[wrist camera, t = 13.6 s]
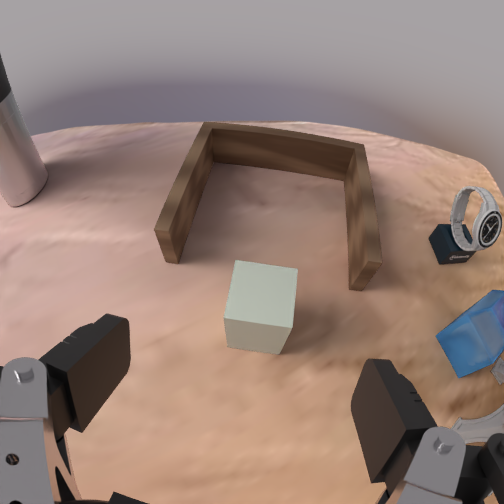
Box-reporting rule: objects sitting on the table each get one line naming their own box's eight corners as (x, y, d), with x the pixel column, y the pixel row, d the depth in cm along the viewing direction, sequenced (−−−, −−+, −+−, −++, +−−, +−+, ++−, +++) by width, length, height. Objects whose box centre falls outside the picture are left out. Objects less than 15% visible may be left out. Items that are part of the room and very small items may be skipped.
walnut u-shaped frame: (206, 154, 44) (204, 121, 38) (352, 175, 42) (363, 144, 37) (165, 262, 33) (154, 229, 28) (361, 291, 32) (382, 263, 27)
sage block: (236, 300, 31) (235, 259, 24) (284, 308, 31) (297, 268, 24) (227, 347, 28) (223, 317, 22) (279, 354, 28) (292, 327, 21)
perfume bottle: (463, 312, 31) (523, 262, 21) (485, 351, 28) (551, 310, 18) (435, 335, 29) (501, 286, 19) (458, 378, 26) (532, 342, 16)
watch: (444, 277, 33) (492, 226, 24) (423, 227, 38) (460, 172, 29) (471, 274, 34) (517, 226, 25) (450, 227, 38) (487, 176, 29)
